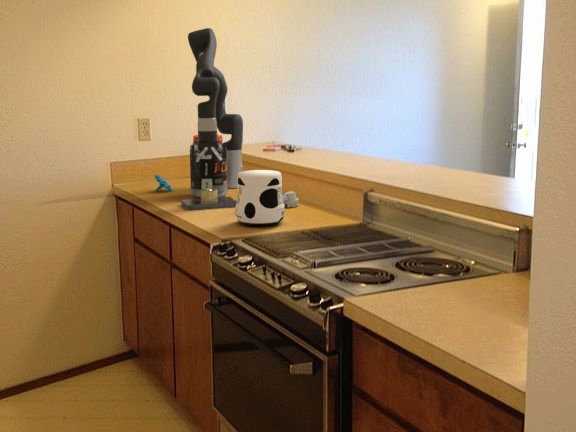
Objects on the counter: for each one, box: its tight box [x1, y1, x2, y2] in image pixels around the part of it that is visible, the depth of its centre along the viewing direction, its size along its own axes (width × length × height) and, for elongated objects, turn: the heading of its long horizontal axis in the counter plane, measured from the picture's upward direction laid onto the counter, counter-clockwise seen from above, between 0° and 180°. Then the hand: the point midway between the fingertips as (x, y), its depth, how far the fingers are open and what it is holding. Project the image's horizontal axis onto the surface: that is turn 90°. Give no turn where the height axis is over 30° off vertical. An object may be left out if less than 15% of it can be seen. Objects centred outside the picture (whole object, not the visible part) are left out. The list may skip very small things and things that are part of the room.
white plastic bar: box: [282, 190, 299, 209], centre depth 275 cm, size 5×7×25 cm
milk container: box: [235, 169, 286, 227], centre depth 249 cm, size 17×17×18 cm
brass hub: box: [200, 188, 218, 202], centre depth 281 cm, size 6×6×4 cm
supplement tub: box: [189, 134, 228, 199], centre depth 302 cm, size 16×16×26 cm
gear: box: [154, 174, 173, 193], centre depth 315 cm, size 11×6×10 cm
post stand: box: [180, 189, 237, 211], centre depth 282 cm, size 20×12×6 cm, turn 110°
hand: (208, 170), depth 279 cm, fingers open, 8 cm apart
